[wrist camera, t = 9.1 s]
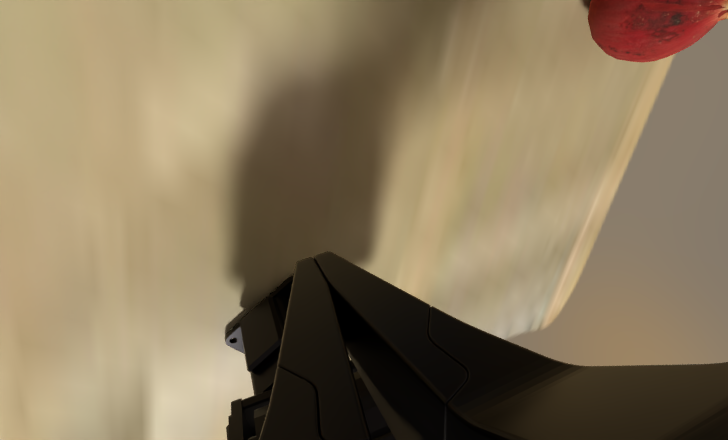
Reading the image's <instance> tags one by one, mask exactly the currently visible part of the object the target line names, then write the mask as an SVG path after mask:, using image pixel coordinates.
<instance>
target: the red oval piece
mask: <svg viewBox="0 0 728 440" xmlns="http://www.w3.org/2000/svg"><path fill="white" fill-rule="evenodd" d="M724 19H728V0H591V2H590V7H589V14H588V22H589V26H590V31H591V35H592V38H593V40H594V41H595V42H596V43H597V44H598V46H599V47H600V48H601V49H602V50H603V51H604V52H605V53H606V54H608V55H610V56H612V57H614V58H616V59H620V60H626V61H633V62H650V61H656V60H659V59H662V58H665V57H668V56H670V55H673V54H675V53H677V52H680V51H681V50H683V49H685V48H687V47H689V46H691V45H692V44H694V43H695V42H697V41H698V40H699V39H700V38H702V37H703V36H704V35H705V34H706V33H707V32H708V31H709V30H711V29H712V28H713V27H714V26H715V25H716V23H717V22H718V21H720V20H724Z"/></svg>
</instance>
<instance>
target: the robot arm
mask: <svg viewBox="0 0 728 440" xmlns="http://www.w3.org/2000/svg"><path fill="white" fill-rule="evenodd" d="M291 284H292V285H291ZM231 338H235V339H231ZM225 342H226V344H227V345H228V346H230V347H232V348H234V349H236V350H238V351H240V352H242V353H244V354H245V359H246V365H247V370H248V371H249V372H250V373H251V379H252V385H253V390H254V396H251V397H249V398H246V399H243V400H242V399H238V400H235V401H233V402H231V415H230V416H229V425H228V426H227V427H226V430H227V440H728V362H726V363H715V364H693V365H692V364H690V365H639V366H638V365H637V366H579V365H573V364H568V363H563V362H560V361H557V360H554V359H551V358H548V357H545V356H543V355H541V354H538V353H535V352H533V351H531V350H528V349H526V348H523V347H521V346H519V345H516V344H514V343H511V342H509V341H506V340H504V339H501V338H499V337H497V336H494V335H492V334H489V333H487V332H485V331H482V330H480V329H478V328H475V327H473V326H471V325H469V324H466V323H464V322H462V321H460V320H458V319H456V318H454V317H452V316H450V315H448V314H446V313H444V312H442V311H441V310H439V309H437V308H435V307H433V306H432V307H430V305H429V304H427V303H425V302H423V301H422V300H420V299H418V298H416V297H414V296H412V295H410V294H408V293H407V292H405V291H403V290H401V289H399V288H397V287H395V286H394V285H392V284H390V283H388V282H386V281H384V280H382V279H380V278H379V277H377V276H375V275H373V274H371V273H369V272H367V271H365V270H364V269H362V268H360V267H358V266H356V265H354V264H352V263H351V262H349V261H347V260H345V259H343V258H341V257H339V256H337V255H336V254H334V253H332V252H325V253H322V254H319V255H316V256H315V257H314V259H313V258H312V257H310V258H307V259H304V260H300V261H298V262H297V263H296V266H295V272H294V276H292V277H290V278H288V279H287V280H286V281H285V282H284V283H282V284H281V285H280V286H279V287H278V288H277V289H276V290H275V291H274V292H272V293H271V294H270V295H269V296H268V297H266V298H265V299H264V300H263V301H262V302H261V303H259V304H258V305H257V306H256V307H255V308H254V309H253V310H252V311H251V312H249V313H248V314H247V315H246V316H245V317H244V318H243V319H242V320H241V321H240V322H239V323H238V324H237V325H236V326H235V327H234V328H232V329H231V330H230V331H229V332H228V333H227V334H226V335H225ZM348 354H349V356H350V358H351V360H350V358H349V356H348Z"/></svg>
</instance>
